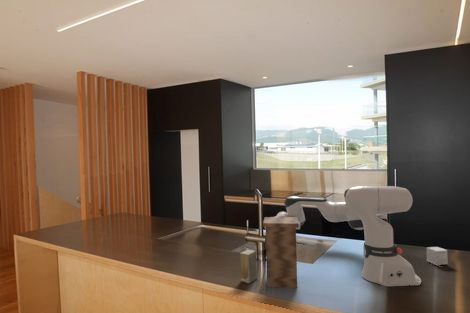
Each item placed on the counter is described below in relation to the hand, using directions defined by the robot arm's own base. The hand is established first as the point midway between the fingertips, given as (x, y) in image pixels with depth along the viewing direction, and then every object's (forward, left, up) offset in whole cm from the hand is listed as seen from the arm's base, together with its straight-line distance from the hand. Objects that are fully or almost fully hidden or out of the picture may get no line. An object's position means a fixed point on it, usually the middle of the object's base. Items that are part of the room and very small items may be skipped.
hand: (282, 228), depth 171 cm
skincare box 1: (+14, +41, -13) cm, 45 cm away
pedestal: (0, +42, -13) cm, 43 cm away
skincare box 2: (-72, +14, -13) cm, 74 cm away
